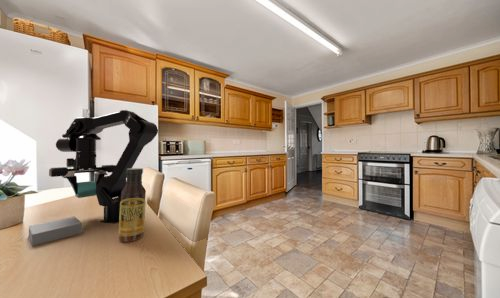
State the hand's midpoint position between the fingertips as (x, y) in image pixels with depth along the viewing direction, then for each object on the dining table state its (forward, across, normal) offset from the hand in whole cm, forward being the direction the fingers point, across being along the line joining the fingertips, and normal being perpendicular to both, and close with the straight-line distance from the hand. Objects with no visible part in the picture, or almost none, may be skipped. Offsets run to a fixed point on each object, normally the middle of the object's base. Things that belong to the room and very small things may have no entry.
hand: (85, 192), depth 71 cm
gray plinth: (+9, +9, +12) cm, 17 cm away
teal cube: (+1, 0, 0) cm, 1 cm away
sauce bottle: (+9, -3, +33) cm, 35 cm away
